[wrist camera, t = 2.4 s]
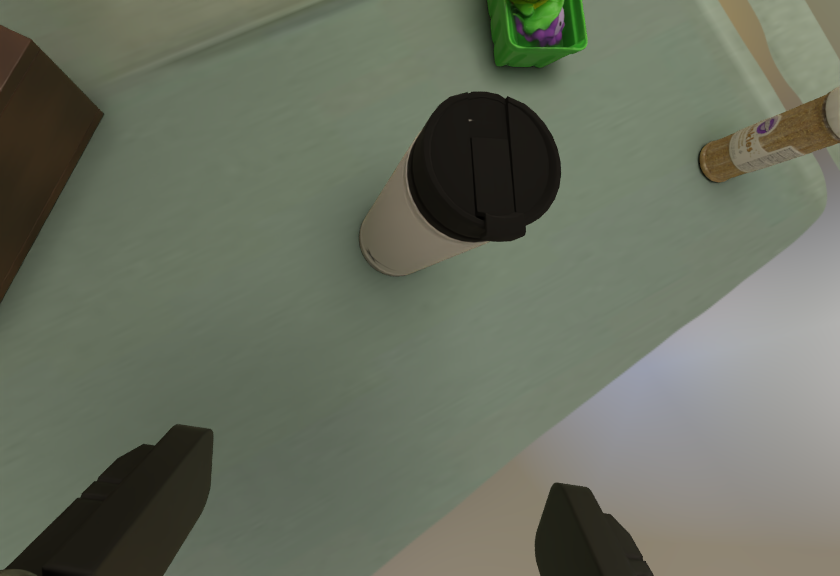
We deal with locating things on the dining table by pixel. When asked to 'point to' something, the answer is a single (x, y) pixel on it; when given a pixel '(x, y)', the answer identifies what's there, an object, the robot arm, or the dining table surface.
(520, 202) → the travel mug
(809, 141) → the sprinkles bottle
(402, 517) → the dining table surface
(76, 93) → the cabinet
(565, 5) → the fruit basket
